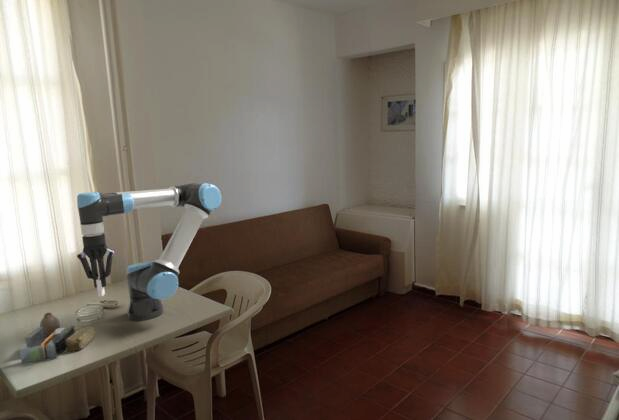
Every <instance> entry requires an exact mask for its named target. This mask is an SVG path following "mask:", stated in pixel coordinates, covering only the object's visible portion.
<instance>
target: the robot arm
mask: <svg viewBox="0 0 619 420" xmlns="http://www.w3.org/2000/svg"><path fill="white" fill-rule="evenodd" d="M76 196H77V197H76V198H77V199H76V200H77V201H76V203H77V211H78V216H79V222H80V223H79V224H80V230H81V231H80V232H81V235H82V236H81V238H82V239H81V240H82V246H83V249H82V252H80V253H79V254H77V255H76V257H77V259H78V260H79V261H80V263H81V265H82V267H83V270H84V272H85V275H86V277H87V279H92V280H93V285H94V288H95V289H97V296H98V298H99V297H103V296H104V295H106V291H105V287H107V279H106V278H108V277H109V276H110V275H111V273H112V272H111V271H112V266H113V265H112V264H113V257H114V255H115V252H116V251H115V250H111V249H109V247H108V246H107V241H106V235H105V227H104V217H108V216H115V215H122V214H124V215H125V214H127V213H132V212H133V211H134V210H135V209H136V210H137V209H147V208H157V207H163V206H164V207H166V206H167V207H168V206H170V207H172V208H177V207H178V208H184V209H185V211H184V213H183V214H182V216H181V218H180V220H179V222H178V223H177V226H176V228H175V229H174V230H173V233H172V235H171V237H169V238H170V239H169V240H168V242H167V244H166V246H165V248H164V250H163V251H162V253H161V255H160V257H159V259H156V260H154V261H152V260H151V261H150V260H148V261H143V262H137V263H134V264H130V265H129V266H127V267H126V271H125V272H126V279H127V280H126V281H127V287H128V294H129V303H128V309H127V318H128V320H131V321H146V320H150V319H154V318H157V317H159V316H160V315H162V314H163V313H164V312H165V307H164V303H163V302H162V300H167V299H168V298H171V297H172V296H173V295H174V294H176V292H177V290H178V288H179V278H178V276H179V275H180V270H179V266H180V265H181V263H182V261H183V259H184V257H185V256H186V253H187V252H188V250H189V247H190V246H191V243H192V242H193V239H194V238H195V236H196V234H197V232H198V230H199V228H200V227H201V225H202V223H203V221H204V220H205V219H207V218H209V217H210V215H211V213H212V211H215V210H217V209H218V208H219V207H220V206H221V204H222V194H221V191H220V189H219V188H218V187H217V186H216V185H214V184H212V183H208V182H207V183H195V182H194V183H193V182H192V183H185V184H179V185H172V186H169V187H168V188H161V189H160V188H159V189H147V190H145V189H144V190H135V191H134V190H133V191H130V190H129V191H118V192H116V191H115V192H104V193H102V192H98V191H90V192H81V193H79V194H77V195H76ZM105 255H106V256H107V257H106V261H105V263H104V260H105V257H104V256H105ZM87 258H88V259H89V260H88V259H87ZM89 263H90V264H89ZM105 264H106V265H105Z"/></svg>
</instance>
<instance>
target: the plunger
mask: <svg viewBox="0 0 619 420" xmlns="http://www.w3.org/2000/svg"><path fill="white" fill-rule="evenodd" d="M75 332H76V331H75V326H74V325H72V326H70V327H69V328H67V329H66V327H60V328H58V329H56V330H55V331H54V332H53V333H52V334H51V335H50V336H47V338H45V341H44V342H43V343H42V344H41V347H43V351H44V357H45V358H46V355H45V349H44V347H45V346H46V345H49V343H50V342H51V341H52V343H51V344H52V345H53V344H55V346H56V352H57V355H61V354H62V352H63V351H64V350H65V349H67V348H66V343H65V340H66V339H67V338H68V337H70V336H71V335H72V334H74V333H75Z"/></svg>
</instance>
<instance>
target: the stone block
mask: <svg viewBox="0 0 619 420" xmlns="http://www.w3.org/2000/svg"><path fill="white" fill-rule="evenodd" d="M95 332H96V331H95V327H93V326H90V327H89V326H88V327H82V328H79V329H78V330H76V331H75V333H74V334H72V335H71V336H70V337H68V338H67V339H66V340H65V343H66V348H65V349H66V351H67V352H75V351H80V350H82V349H84V348H85V347H87V346H88V345H90V343H91V342H93V340H95V335H96V334H95Z"/></svg>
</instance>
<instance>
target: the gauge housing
mask: <svg viewBox="0 0 619 420" xmlns="http://www.w3.org/2000/svg"><path fill="white" fill-rule="evenodd" d="M45 337H46V336H45V335H44V330H43V327H40V326H39V327H36V328H35V329H34V330H33V331H32V332H31V333H30V334H28V335H27V336H26V337H25V342H26V347H20V348H19V350H18V351H19V356H20V362H21V363H30V362H39V361H46V360H56V359H57V358H58V354H57V352H56V346H55V344H53V343H52V344H47V345H46V346H45V347H44V349H45V355H46V358H45V357H44V351H43V347H41V344H42V343H43V342H44V341H45V340H46V338H45Z"/></svg>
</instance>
